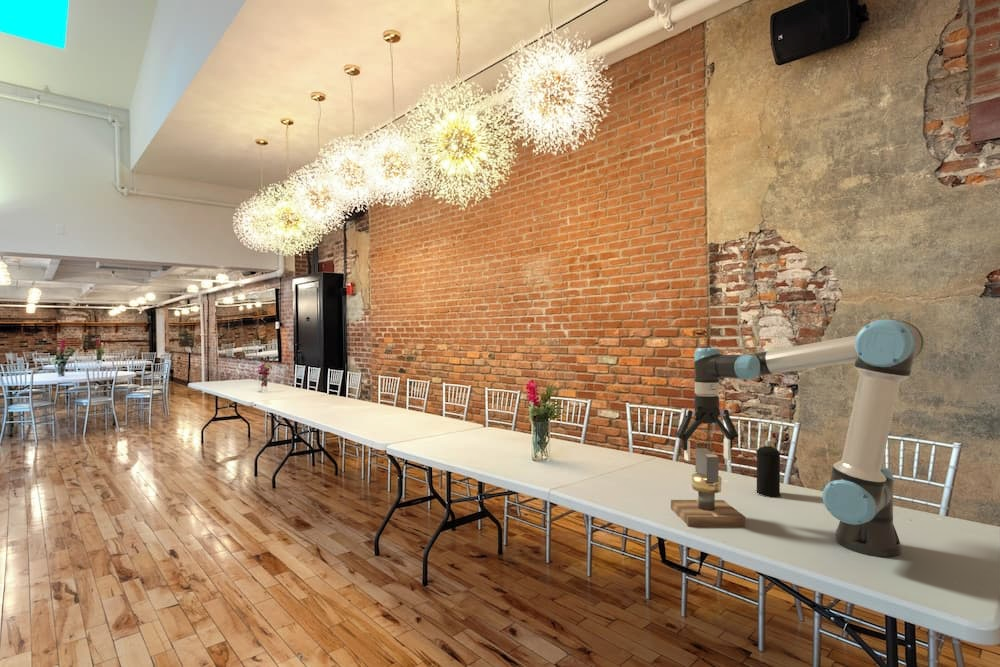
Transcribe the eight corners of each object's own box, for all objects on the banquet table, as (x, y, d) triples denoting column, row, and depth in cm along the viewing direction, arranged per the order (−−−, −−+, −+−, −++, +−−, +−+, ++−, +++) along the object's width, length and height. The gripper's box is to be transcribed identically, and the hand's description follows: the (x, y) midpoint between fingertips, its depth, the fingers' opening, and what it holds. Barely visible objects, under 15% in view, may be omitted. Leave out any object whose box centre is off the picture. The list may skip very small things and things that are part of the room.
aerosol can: (779, 498, 185) (780, 444, 185) (754, 495, 190) (754, 441, 189) (781, 492, 192) (781, 440, 192) (756, 489, 197) (757, 437, 196)
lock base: (745, 526, 159) (745, 497, 159) (688, 526, 159) (688, 497, 159) (723, 508, 175) (723, 482, 175) (670, 508, 175) (670, 482, 175)
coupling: (714, 483, 172) (714, 447, 172) (727, 495, 160) (727, 456, 160) (687, 483, 173) (687, 447, 173) (697, 494, 161) (698, 455, 161)
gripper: (675, 396, 162) (675, 463, 162) (749, 395, 164) (749, 461, 164) (665, 394, 169) (665, 457, 169) (736, 393, 172) (737, 455, 171)
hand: (707, 459), depth 167 cm, fingers open, 13 cm apart
